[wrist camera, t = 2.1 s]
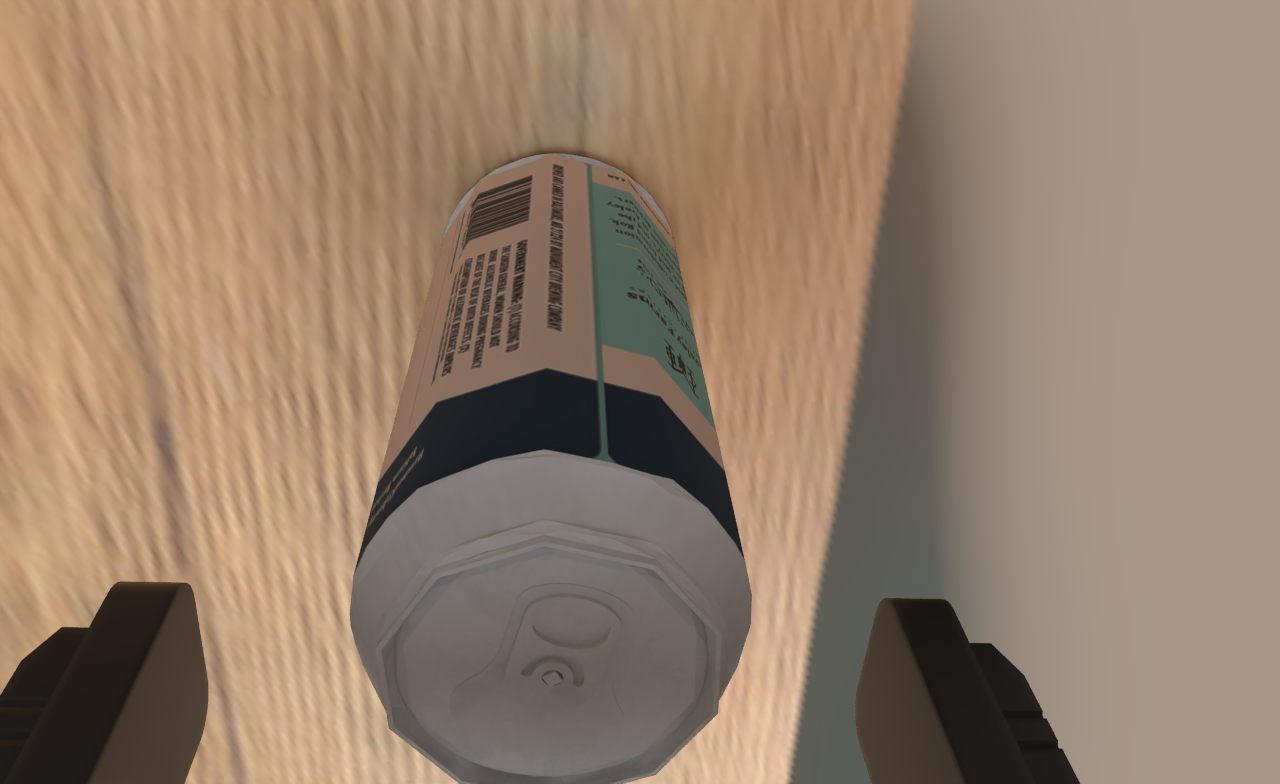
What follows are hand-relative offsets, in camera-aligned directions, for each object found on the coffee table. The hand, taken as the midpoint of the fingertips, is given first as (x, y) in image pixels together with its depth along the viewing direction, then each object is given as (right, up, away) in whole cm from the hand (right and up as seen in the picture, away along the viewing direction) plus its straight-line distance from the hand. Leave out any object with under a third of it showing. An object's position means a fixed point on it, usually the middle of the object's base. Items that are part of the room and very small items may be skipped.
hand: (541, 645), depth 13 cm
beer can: (0, +6, +10) cm, 12 cm away
